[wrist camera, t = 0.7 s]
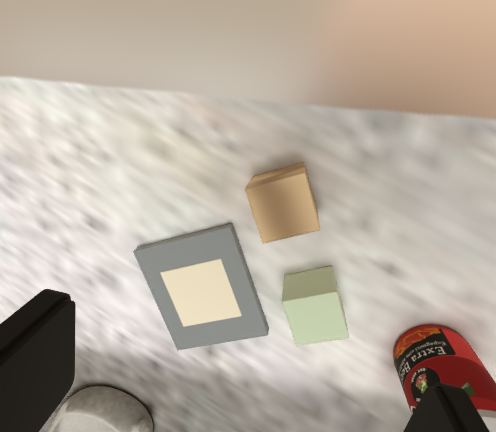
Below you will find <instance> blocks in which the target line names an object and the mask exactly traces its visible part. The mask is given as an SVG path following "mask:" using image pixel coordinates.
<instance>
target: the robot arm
mask: <svg viewBox="0 0 496 432" xmlns="http://www.w3.org/2000/svg"><path fill="white" fill-rule="evenodd" d="M74 376H75V302H74V301H71V298H70V295H69V294H67V293H63V292H59V291H54V290H50V289H44V290H43V291H41V292H40V293H39V294H37V295H36V296H35V297H34V298H32V299H31V300H30V301H29V302H27V303H26V304H25V305H24V306H22V307H21V308H20V309H19V310H17V311H16V312H15V313H14V314H12V315H11V316H10V317H9V318H7V319H6V320H5V321H4V322H2V323H1V324H0V432H39V431H40V429H41V428H42V427H43V425H44V424H45V422H46V421H47V420H48V418H49V417H50V416H51V414H52V413H53V412H54V410H55V409H56V408H57V406H58V405H59V404H60V402H61V401H62V400H63V398H64V397H65V395H66V394H67V393H68V391H69V390H70V388H71V386H72V384H73V381H74ZM404 432H490V431H489V429H488V428H487V426H486V424H485V423H484V421H483V419H482V418H481V416H480V414H479V413H478V411H477V409H476V408H475V406H474V404H473V402H472V401H471V399H470V397H469V396H468V394H467V393H466V391H465V390H464V389H463V388H461V387H458V386H453V385H449V384H445V383H441V382H436V383H434V384H433V386H428V387H427V388H426V389H425V391H424V393H423V395H422V397H421V399H420V401H419V403H418V404H417V406H416V408H415V410H414V412H413V414H412V416H411V418H410V420H409V422H408V424H407V426H406V428H405V430H404Z"/></svg>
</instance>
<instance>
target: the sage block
mask: <svg viewBox="0 0 496 432" xmlns="http://www.w3.org/2000/svg"><path fill="white" fill-rule="evenodd" d="M282 304H283V307H284V310H285V313H286V317H287V320H288V323H289V326H290V329H291V332H292V335H293V338H294V341H295V344H296V346H301V345H307V344H314V343H320V342H327V341H333V340H340V339H346V338H349V335H348V329H347V324H346V319H345V314H344V309H343V305H342V301H341V297H340V293H339V290H338V286H337V282H336V279H335V275H334V271H333V267H332V266H328V267H323V268H318V269H313V270H308V271H303V272H299V273H294V274H289V275H284V284H283V294H282Z"/></svg>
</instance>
